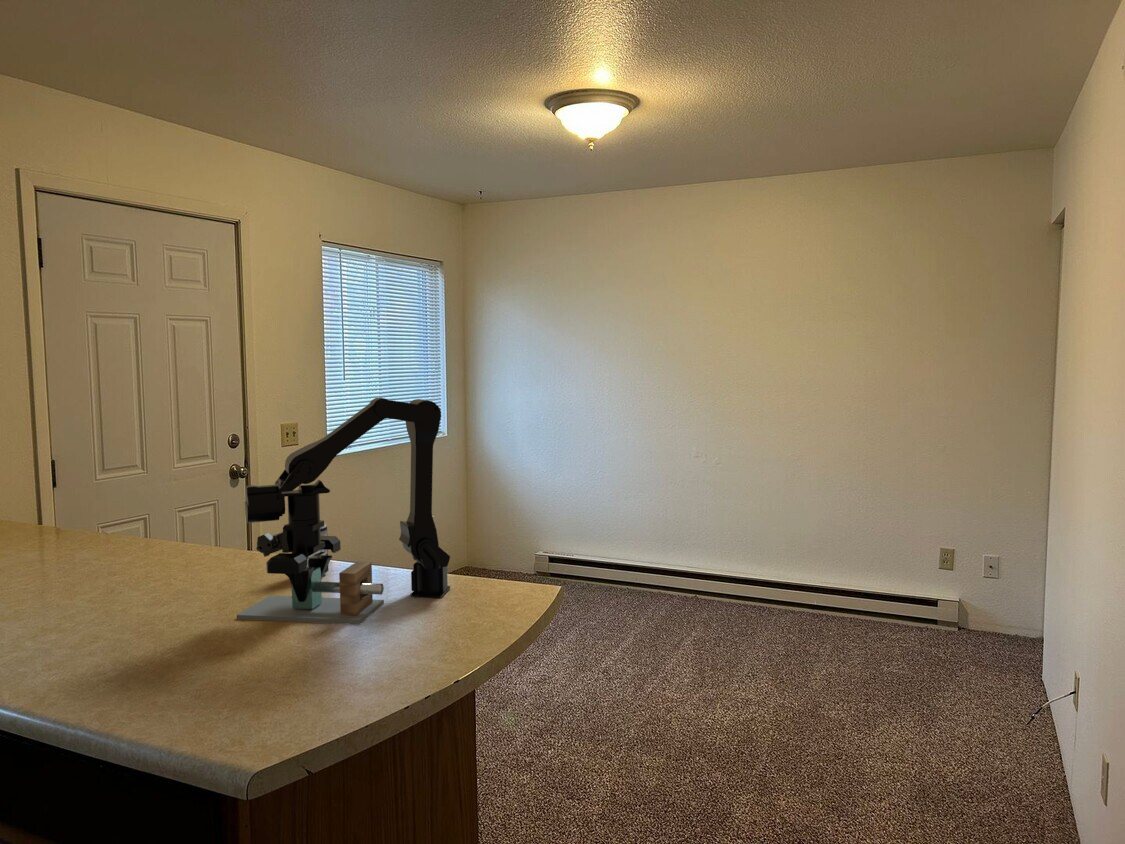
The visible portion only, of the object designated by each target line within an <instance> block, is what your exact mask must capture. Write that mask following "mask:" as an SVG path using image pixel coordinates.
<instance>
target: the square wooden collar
mask: <svg viewBox="0 0 1125 844" xmlns="http://www.w3.org/2000/svg"><path fill="white" fill-rule="evenodd" d="M372 565H373V564H372V561H356V562H355V563H353V564H351V565H349V566H348V567H346V568H345V569H344V570H342V571H340V572H339V573H338V574H339V577H338V579H339V582H340V593H339V598H340V612H341V616H357V615H358V614H359V613H361V612H362V611H363V610H364V609H366V608H367V607H368V606H369V605H370V604H372V603H373V599H374V598H373V595H374V594H360V583H373V566H372Z"/></svg>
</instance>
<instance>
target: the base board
mask: <svg viewBox="0 0 1125 844" xmlns="http://www.w3.org/2000/svg"><path fill="white" fill-rule="evenodd" d="M384 604H385V599H376V598H375V599H374V598H373V603H372V604H370V605H369V606H368V607H367V608H366V609H364V610H363V611H362V612H361V613H359V614H358V615H357V616H341V612H340V597H322V603H320V604H319V605H318V606H316V607H315V608H313V609H297V608H292V595H291V596H290V595H272V594H271V595H268V596H266V597H265V598H262V599H261V600H259V601H258V602H256V603H253V605H251V606H249V607H248V608H246V609H244V610H243V611H240V612H239V613H237V614H236V620H246V621H247V620H251V621H252V620H253V621H275V622H292V623H293V622H294V623H295V622H297V623H321V624H342V625H343V624H344V625H361V624H362V623H363V622H364V621H366V619H368V618H369V617H370V616H371V615H373V614H374V613H375V612H376V611H377V610H379V609H380V608H381V607H382V606H383V605H384Z"/></svg>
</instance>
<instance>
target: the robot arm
mask: <svg viewBox="0 0 1125 844" xmlns="http://www.w3.org/2000/svg"><path fill="white" fill-rule="evenodd" d="M441 418H442V410H441V408H440V407H439V405H438V404H437V403H436V402H434V401H432V400H427V399H420V398H418V399H417V398H415V399H413V400H410V401H409V402H404V401H400V400H399V401H397V400H391V399H388V398H386V397H375V398H373V399H372V400H370V402H369V403H368V404H367V405H365V406H364V407H362V409H360V410H359V411H357V412H356V413H355V414H354V415H351V417H349V418H348V419H347V420H346V421H344V422H343V423H341V424H340V425H339V426H337V427H335V429H334V430H332V431H330V432H329V433H328V434H326V435H325V436H324V437H323V438H321V439H319V440H316V441H314V442H312V443H309V444H307V445H305V446H303V447H301V448H299V449H296V450H295V451H293V452H291V453H290V454H289V455H287V457H286V459H285V461H284V470H283V471H282V473H281V474H280V475H279V476H278V478H277V480H276V481H275V482H274V484H270V485H269V484H267V485H253V484H252V485H246V486H245V501H244V514H245V515H244V516H245V522H246V524H251V523H261V522H262V523H263V522H273V521H279V520H280V518H281V517H283V516H284V515H285V514H286V500H285V499H286V498H285V497H287V516H288V519H287V520H288V521H287V522H288V523H286V524H284V525H283V527H282V532H279V533H276V534H273V535H271V533H270V532H268V533H267V532H266V533H264V534H261V535H259V536H257V541H256V550H257V551H258V552H259V553H261V554H263V557H264V558H265V557H268V556H270V554H273V553H276V552H279V551H281V552H280V553H277V554H276V555H273V556H272V557H270V558H269V559H268V560H267V561H266V573H267V574H273V575H274V574H275V575H276V574H277V575H285V576H286V577H288V579H289V582H290V583H291V587H292V586H293V588H294V591H295V594H296V596H297V599H298V601H299V602H304V601H305V599H306V596H307V592H308V589H309V585H310V581H311V577H312V573H313V570H314V567H321V581H322V579H323V577H324V576H325V575H324V573H325V571H326V568H327V566H328V567H329V564H330V561H331V560H332V559H333V555H329V554H328V555H326V552H324V550H328V551H329V550H330V552H331V553H332V554H336V553H337V552H339V551H341V540H340V539H339V538H338V537H337V536H335V535H327V536H321V533H320V528H321V527H323V526H324V521H325V520H324V521H320V520H321V512H320V511H321V510H320V508H321V507H320V504H321V503H320V494H330V492H331V489H329V488H328V487H327V486H326V485H325V484H324V482H323V481H322V480H320V479H318V478H319V477H320V476H321V475H322V474H323V473H324V471H325V470H326V469H327V468H328V467H329V466H330V464H331V463H332V462H333V461H334V459H335V458H336V457H337V456H338V455H339V454H340V453H341V452H342V451H344V450H345V449H347V448H348V447H349V446H350V445H352V444H353V443H354V442H356V441H357V440H358V439H360V438H361V437H362V436H364V435H365V434H367V433H368V432H369V431H370V430H372V429H373V428H374V427H376V426H377V425H378V424H379V423H380V422H382V421H384V420H386V419H388V420H397V421H404V422H405V428H406V431H407V435H408V438H409V441H410V486H409V487H410V493H409V494H410V495H409V497H410V498H409V499H410V501H409V503H410V504H409V513H408V516H407V519H406V521H404V520H400V521H399V526H400V537H399V538H398V540H399V541H400V542H401V543H402V547H403V549H404V550H405V551H406V552H407V553H408V554H410V555H411V556H412V559H413V561H416V562H415V563H413V568H412V569H413V570H411V571H410V578H411V579H410V580H411V582H410V584H411V585H410V586H411V591H412V592H411V594H410V596H411V597H419V598H420V597H424V598H425V597H426V598H442V597H444V595H445V594H447V592H449V590H450V589H451V586H450V585H448V566H449V563H450V560H451V556H450V555H449V554H448V553H447V552H445V550H443V549H442V548H441V547H440V545H439V537H438V531H437V528H436V523H435V521H434V517H433V471H434V470H433V469H434V468H433V467H434V464H433V463H434V443H435V441H436V438H437V436H438V434H439V430H440V424H441ZM315 481H316V482H315ZM312 482H315V483H312ZM325 574H326V573H325ZM323 575H324V576H323Z"/></svg>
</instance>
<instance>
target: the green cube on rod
mask: <svg viewBox="0 0 1125 844" xmlns="http://www.w3.org/2000/svg"><path fill="white" fill-rule="evenodd" d="M384 586H385V585H384V584H383V583H375V582H374V583H373V582H372V583H360V594H372V595H380V596H381V595H383V594H384V588H385V587H384ZM322 593H327V594H329V593H330V594H340V581H339V582H338V581H322V580H321V567H314V570H313V573H312V577H311V581H310V585H309V589H308V592H307V596H306V599H305V601H304V602H299V601H298V599H297V596H296V594H295V591H294V588H293V586H292V585H291V596H292V608H297V609H313V608H315V607H316V606H318V605H319V604H320V603H322Z"/></svg>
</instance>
